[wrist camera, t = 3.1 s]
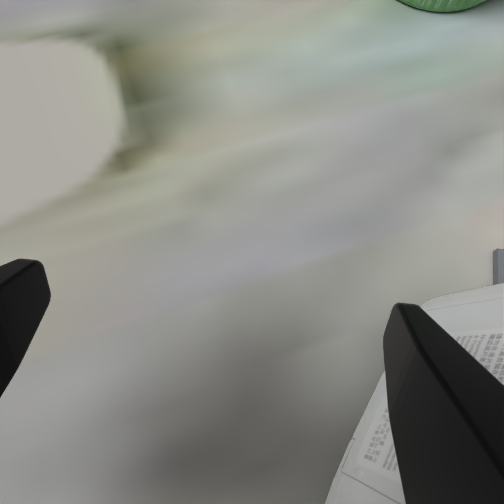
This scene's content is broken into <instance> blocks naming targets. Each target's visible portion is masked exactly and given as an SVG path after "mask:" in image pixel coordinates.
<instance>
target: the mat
mask: <svg viewBox="0 0 504 504" xmlns="http://www.w3.org/2000/svg"><path fill="white" fill-rule="evenodd" d="M500 283H504V249H496V250H494V251H493V285H496V284H500Z"/></svg>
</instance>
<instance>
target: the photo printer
mask: <svg viewBox="0 0 504 504" xmlns="http://www.w3.org/2000/svg"><path fill="white" fill-rule="evenodd" d="M421 308H422V309H423V310H424V311H425V312H426V313H427V314H428V315H429V316H430V317H431V318H432V319H433V320H435V321H436V322H437V323H438V324H439V325H440V326H441V327H442V328H443V329H444V330H445V331H446V332H447V333H448V334H450V335H451V336H452V337H453V338H454V339H455V340H456V341H457V342H458V343H459V344H460V345H461V346H462V347H463V348H464V349H466V350H467V351H468V352H469V353H470V354H471V355H472V356H473V357H474V358H475V359H476V360H477V361H478V362H479V363H481V364H482V365H483V366H484V367H485V368H486V369H487V370H488V371H489V372H490V373H491V374H492V375H493V376H494V377H496V378H497V379H498V380H499V381H500V382H501V383H502V384H503V385H504V283H500V284H496V285H491V286H487V287H481V288H477V289H472V290H467V291H462V292H457V293H452V294H447V295H443V296H438V297H435V298H432V299H430V300H427V301H426V302H425V303H424V304H422V305H421ZM325 504H406V503H405V498H404V493H403V488H402V483H401V478H400V473H399V467H398V462H397V457H396V452H395V447H394V442H393V437H392V432H391V426H390V420H389V413H388V403H387V390H386V376H385V370H384V372H383V374H382V376H381V378H380V380H379V382H378V384H377V386H376V388H375V391H374V393H373V395H372V397H371V399H370V401H369V403H368V405H367V407H366V409H365V411H364V414H363V416H362V418H361V420H360V422H359V424H358V426H357V428H356V430H355V432H354V434H353V437H352V439H351V441H350V442H349V444H348V447H347V449H346V451H345V454H344V456H343V459H342V461H341V463H340V466H339V468H338V470H337V473H336V475H335V477H334V480H333V482H332V485H331V488H330V490H329V493H328V496H327V499H326V502H325Z"/></svg>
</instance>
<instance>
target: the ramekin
mask: <svg viewBox="0 0 504 504" xmlns="http://www.w3.org/2000/svg"><path fill="white" fill-rule="evenodd" d="M399 1H401V2H403V3H405V4H408V5H410V6H413V7H415V8H419V9H423V10H429V11H434V12H451V11H458V10H463V9H467V8H470V7H473V6H476V5H478V4H480V3H482V2H484V1H486V0H399Z"/></svg>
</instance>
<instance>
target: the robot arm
mask: <svg viewBox="0 0 504 504" xmlns="http://www.w3.org/2000/svg"><path fill="white" fill-rule="evenodd" d="M50 298H51V293H50V288H49V284H48V281H47V277H46V273H45V269H44V266H43V264H42V263H41V262H40V261H37V260H30V259H17V260H14V261H12V262H9V263H7V264H4V265H2V266H0V397H1V396H2V394H3V392H4V391H5V389H6V387H7V386H8V384H9V383H10V381H11V379H12V378H13V376H14V374H15V372H16V371H17V369H18V367H19V365H20V363H21V361H22V360H23V358H24V356H25V353H26V351H27V349H28V347H29V345H30V343H31V341H32V339H33V337H34V335H35V332H36V330H37V328H38V326H39V324H40V322H41V320H42V318H43V316H44V314H45V311H46V309H47V307H48V305H49V302H50ZM383 350H384V363H385V376H386V390H387V403H388V413H389V420H390V426H391V432H392V437H393V442H394V447H395V452H396V457H397V462H398V467H399V473H400V478H401V483H402V488H403V493H404V498H405V503H406V504H504V385H503V384H502V383H501V382H500V381H499V380H498V379H497V378H496V377H494V376H493V375H492V374H491V373H490V372H489V371H488V370H487V369H486V368H485V367H484V366H483V365H482V364H481V363H479V362H478V361H477V360H476V359H475V358H474V357H473V356H472V355H471V354H470V353H469V352H468V351H467V350H466V349H464V348H463V347H462V346H461V345H460V344H459V343H458V342H457V341H456V340H455V339H454V338H453V337H452V336H451V335H450V334H448V333H447V332H446V331H445V330H444V329H443V328H442V327H441V326H440V325H439V324H438V323H437V322H436V321H435V320H433V319H432V318H431V317H430V316H429V315H428V314H427V313H426V312H425V311H424V310H423V309H422V308H421V307H419V306H418V305H415V304H407V303H396V304H395V305H394V307H393V309H392V311H391V314H390V317H389V320H388V323H387V326H386V329H385V332H384V337H383Z"/></svg>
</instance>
